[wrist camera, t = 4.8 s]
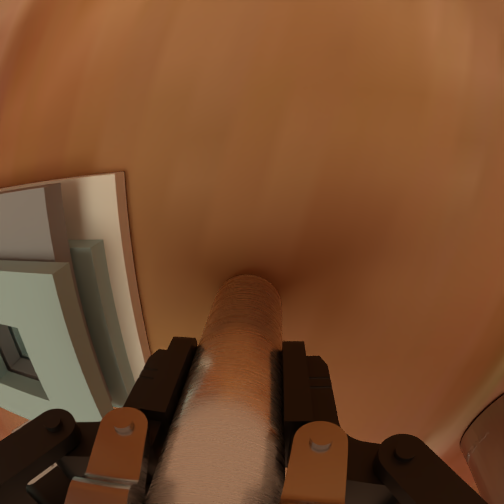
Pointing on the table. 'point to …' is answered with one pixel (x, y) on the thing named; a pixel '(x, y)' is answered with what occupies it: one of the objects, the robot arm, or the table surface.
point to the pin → (229, 406)
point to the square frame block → (68, 298)
